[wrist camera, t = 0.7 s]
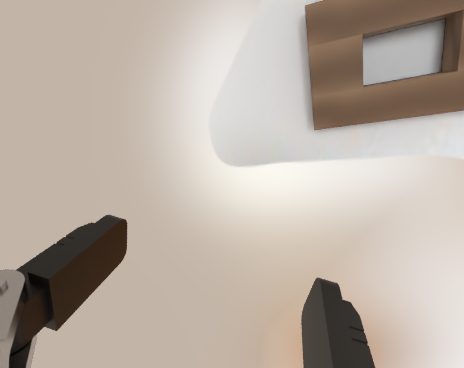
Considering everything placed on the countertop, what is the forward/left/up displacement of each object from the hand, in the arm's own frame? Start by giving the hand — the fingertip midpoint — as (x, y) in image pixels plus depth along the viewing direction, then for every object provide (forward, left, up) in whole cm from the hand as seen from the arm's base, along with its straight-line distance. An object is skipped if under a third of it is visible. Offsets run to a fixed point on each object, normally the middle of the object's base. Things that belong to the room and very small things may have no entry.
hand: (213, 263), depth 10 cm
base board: (-7, +12, -23) cm, 26 cm away
